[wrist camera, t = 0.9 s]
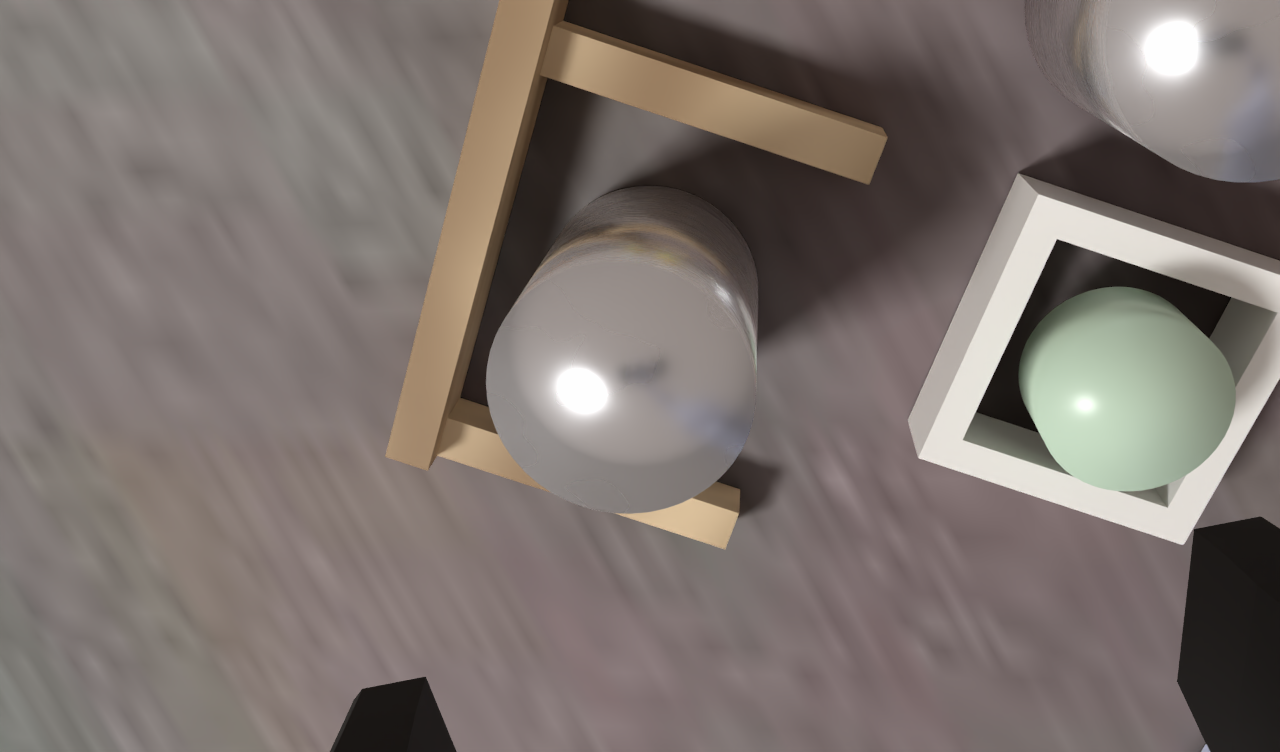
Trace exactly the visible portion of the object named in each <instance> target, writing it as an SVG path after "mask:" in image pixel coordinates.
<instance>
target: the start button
mask: <svg viewBox="0 0 1280 752" xmlns="http://www.w3.org/2000/svg"><path fill="white" fill-rule="evenodd" d="M1018 376H1019V388H1020V393H1021V396H1022V399H1023V402H1024V404H1025V406H1026V408H1027V410H1028V412H1029V414H1030V416H1031V418H1032V420H1033V421H1034V423H1035V425H1036V427H1037V429H1038V431H1039V433H1040V435H1041V437H1042V439H1043V440H1044V442H1045V444H1046V446H1047V448H1048V450H1049V452H1050V454H1051V455H1052V456H1053V458H1054V459H1055V460H1056V462H1057V463H1058V464H1059V465H1060V466H1061V467H1062V468H1063V469H1064V470H1066V471H1067V472H1068V473H1070V474H1071V475H1072V476H1074V477H1075V478H1077V479H1079V480H1081V481H1083V482H1085V483H1087V484H1090V485H1092V486H1095V487H1098V488H1102V489H1106V490H1113V491H1141V490H1147V489H1152V488H1157V487H1160V486H1163V485H1166V484H1169V483H1171V482H1173V481H1176V480H1178V479H1180V478H1182V477H1183V476H1185V475H1187V474H1189V473H1190V472H1192V471H1193V470H1194V469H1196V468H1197V467H1199V466H1200V465H1201V464H1202V463H1203V462H1204V461H1205V460H1207V459H1208V458H1209V457H1210V456H1211V454H1212V453H1213V452H1214V451H1215V450H1216V449H1217V447H1218V446H1219V444H1220V443H1221V441H1222V440H1223V438H1224V437H1225V435H1226V433H1227V431H1228V429H1229V427H1230V424H1231V421H1232V418H1233V415H1234V409H1235V403H1236V390H1235V382H1234V378H1233V374H1232V371H1231V368H1230V366H1229V364H1228V362H1227V360H1226V358H1225V357H1224V355H1223V354H1222V353H1221V351H1220V350H1219V349H1218V348H1217V347H1216V345H1215V344H1214V343H1213V342H1212V341H1211V340H1210V339H1209V338H1208V337H1207V336H1206V335H1204V334H1203V333H1202V332H1201V331H1200V330H1199V329H1198V328H1197V327H1196V326H1195V325H1194V324H1193V323H1192V322H1191V321H1190V320H1189V319H1188V318H1187V317H1186V316H1185V315H1184V314H1183V313H1182V312H1180V311H1179V310H1178V309H1177V308H1176V307H1175V306H1174V305H1172V304H1171V303H1170V302H1169V301H1167V300H1165V299H1164V298H1162V297H1160V296H1158V295H1156V294H1153V293H1151V292H1148V291H1145V290H1141V289H1137V288H1130V287H1106V288H1099V289H1095V290H1091V291H1087V292H1084V293H1082V294H1079V295H1076V296H1074V297H1072V298H1070V299H1068V300H1066V301H1065V302H1063V303H1062V304H1060V305H1058V306H1057V307H1056V308H1054V309H1053V310H1052V311H1051V312H1049V313H1048V314H1047V315H1046V316H1045V317H1044V318H1043V319H1042V320H1041V321H1040V322H1039V323H1038V325H1037V326H1036V327H1035V329H1034V330H1033V332H1032V333H1031V335H1030V337H1029V338H1028V340H1027V342H1026V344H1025V347H1024V349H1023V352H1022V355H1021V359H1020V363H1019V373H1018Z"/></svg>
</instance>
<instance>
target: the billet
mask: <svg viewBox="0 0 1280 752" xmlns="http://www.w3.org/2000/svg"><path fill="white" fill-rule="evenodd" d="M1025 25H1026V30H1027V36H1028V41H1029V44H1030V47H1031V50H1032V53H1033V56H1034V58H1035V60H1036V62H1037V64H1038V66H1039V68H1040V69H1041V71H1042V72H1043V74H1044V75H1045V77H1046V78H1047V80H1048V81H1049V82H1050V83H1051V84H1052V85H1053V86H1054V87H1055V89H1056V90H1057V91H1058V92H1060V93H1061V94H1062V95H1063V96H1064V97H1066V98H1067V99H1068V100H1069V101H1071V102H1073V103H1074V104H1076V105H1077V106H1079V107H1081V108H1082V109H1084V110H1086V111H1087V112H1089V113H1090V114H1092V115H1094V116H1095V117H1097V118H1099V119H1100V120H1102V121H1103V122H1105V123H1107V124H1108V125H1110V126H1112V127H1113V128H1115V129H1116V130H1118V131H1120V132H1121V133H1123V134H1124V135H1126V136H1128V137H1129V138H1131V139H1133V140H1134V141H1136V142H1137V143H1139V144H1141V145H1142V146H1144V147H1146V148H1147V149H1149V150H1150V151H1152V152H1154V153H1155V154H1157V155H1159V156H1160V157H1162V158H1164V159H1165V160H1167V161H1169V162H1170V163H1172V164H1174V165H1175V166H1177V167H1179V168H1181V169H1184V170H1186V171H1188V172H1191V173H1193V174H1196V175H1199V176H1203V177H1207V178H1211V179H1214V180H1221V181H1229V182H1264V181H1272V180H1279V179H1280V0H1025Z"/></svg>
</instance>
